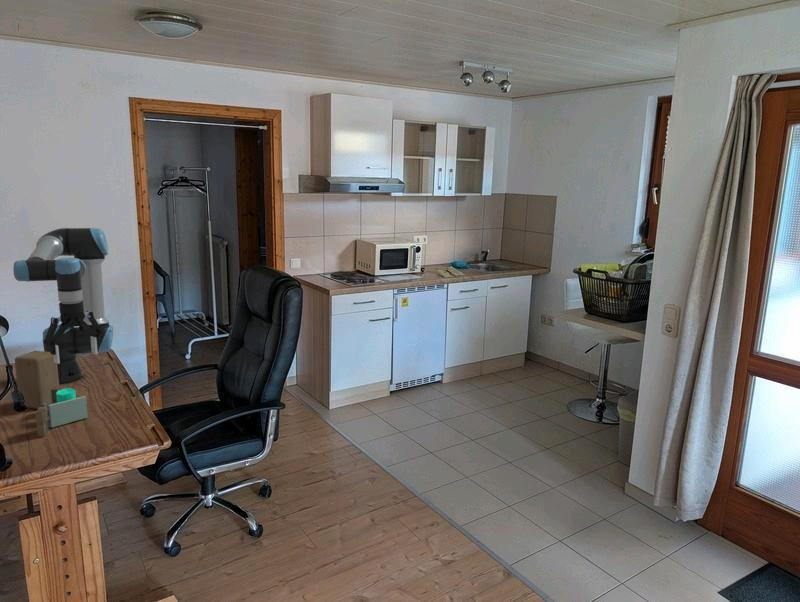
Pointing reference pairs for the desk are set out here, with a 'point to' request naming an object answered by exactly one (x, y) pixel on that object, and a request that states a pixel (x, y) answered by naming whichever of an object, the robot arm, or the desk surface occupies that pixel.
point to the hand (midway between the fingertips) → (76, 358)
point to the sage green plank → (67, 411)
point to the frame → (45, 414)
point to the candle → (65, 395)
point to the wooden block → (36, 377)
